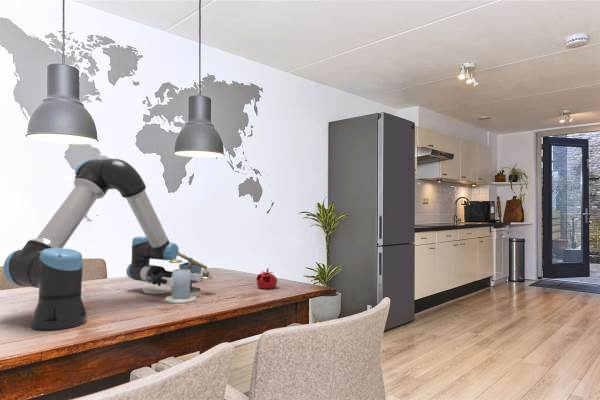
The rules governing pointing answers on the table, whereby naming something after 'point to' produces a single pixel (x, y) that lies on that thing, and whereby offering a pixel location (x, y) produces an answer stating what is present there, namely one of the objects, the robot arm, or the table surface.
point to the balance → (190, 262)
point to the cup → (181, 284)
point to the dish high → (157, 289)
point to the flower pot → (195, 268)
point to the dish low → (180, 300)
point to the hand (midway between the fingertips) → (187, 280)
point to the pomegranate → (266, 280)
